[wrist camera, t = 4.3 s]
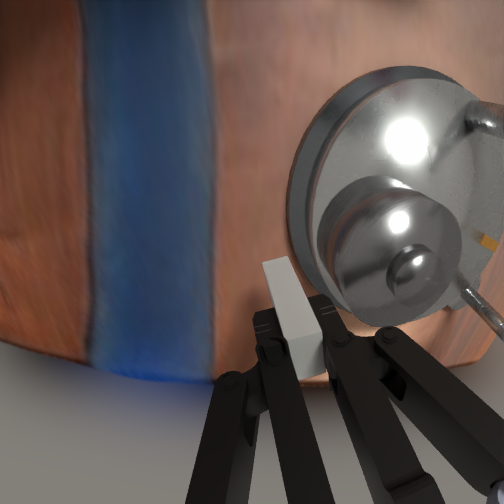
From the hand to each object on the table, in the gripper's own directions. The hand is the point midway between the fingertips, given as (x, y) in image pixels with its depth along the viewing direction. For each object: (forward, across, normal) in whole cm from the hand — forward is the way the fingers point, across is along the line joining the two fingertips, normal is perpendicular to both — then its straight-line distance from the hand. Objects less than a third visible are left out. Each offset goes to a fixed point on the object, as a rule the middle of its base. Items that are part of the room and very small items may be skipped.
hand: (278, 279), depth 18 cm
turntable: (+4, +13, 0) cm, 13 cm away
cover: (+2, +7, 0) cm, 7 cm away
